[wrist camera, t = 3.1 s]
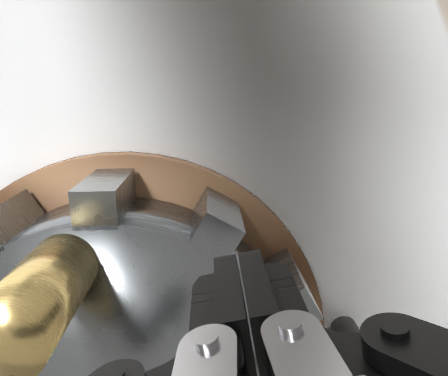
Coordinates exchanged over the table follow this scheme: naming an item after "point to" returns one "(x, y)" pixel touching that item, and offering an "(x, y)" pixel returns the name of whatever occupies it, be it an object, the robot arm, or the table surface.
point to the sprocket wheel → (110, 275)
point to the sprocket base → (173, 200)
